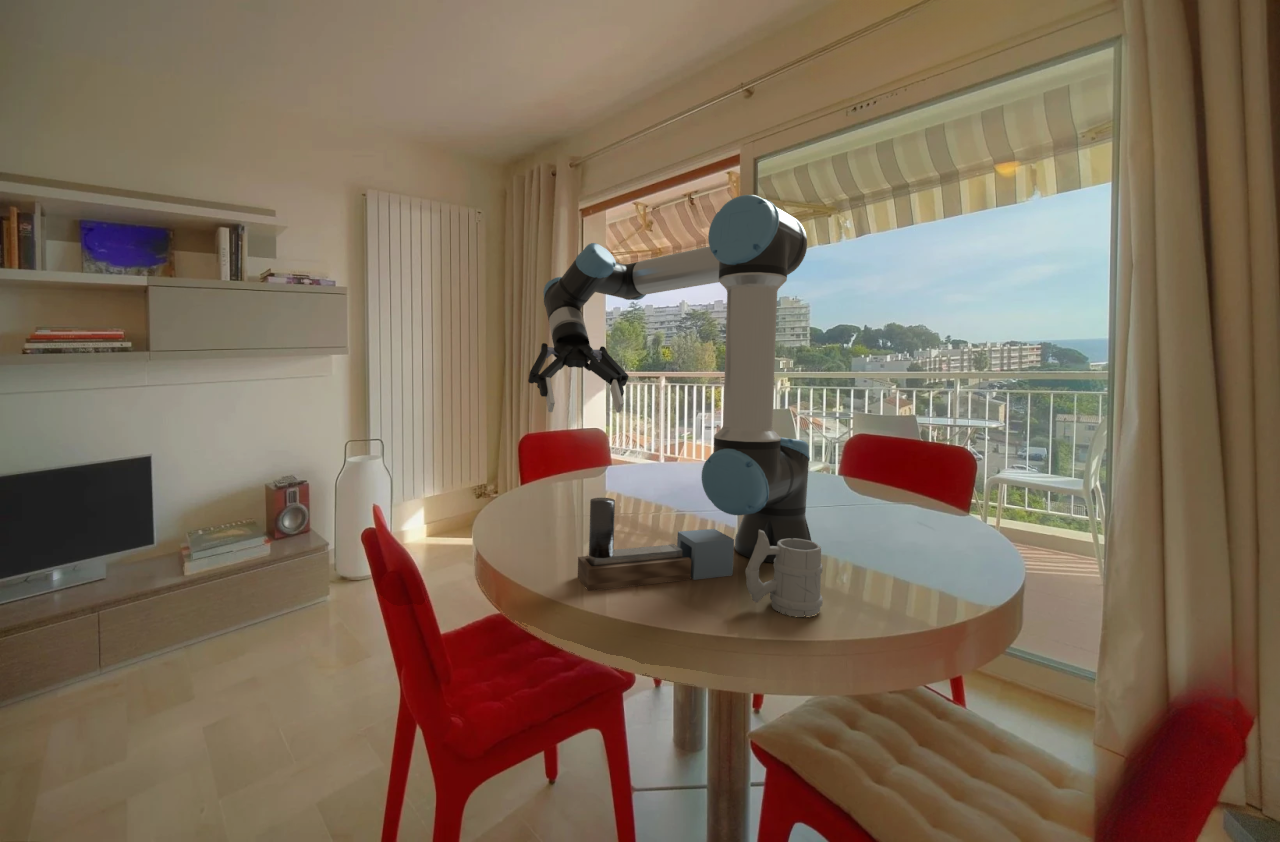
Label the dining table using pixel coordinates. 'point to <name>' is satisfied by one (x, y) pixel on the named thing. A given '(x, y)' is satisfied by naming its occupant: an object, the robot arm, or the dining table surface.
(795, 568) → the mug
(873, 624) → the dining table surface
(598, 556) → the l-shaped peg bar
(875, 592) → the dining table surface
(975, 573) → the dining table surface
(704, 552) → the socket block
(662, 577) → the walnut channel
